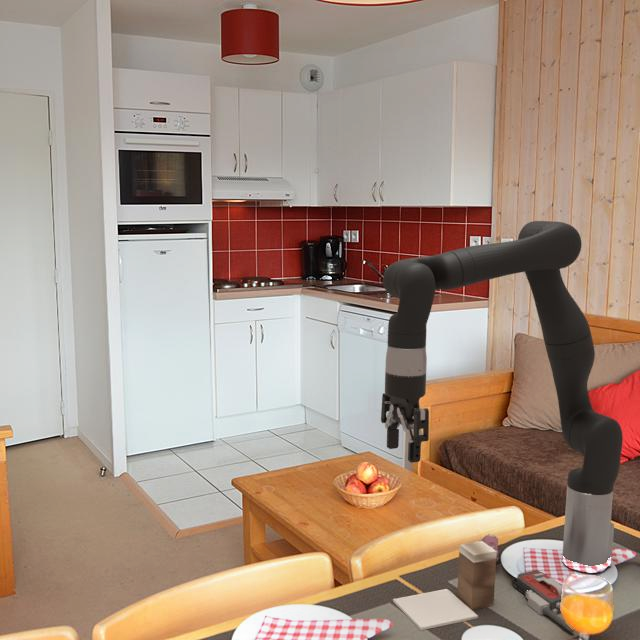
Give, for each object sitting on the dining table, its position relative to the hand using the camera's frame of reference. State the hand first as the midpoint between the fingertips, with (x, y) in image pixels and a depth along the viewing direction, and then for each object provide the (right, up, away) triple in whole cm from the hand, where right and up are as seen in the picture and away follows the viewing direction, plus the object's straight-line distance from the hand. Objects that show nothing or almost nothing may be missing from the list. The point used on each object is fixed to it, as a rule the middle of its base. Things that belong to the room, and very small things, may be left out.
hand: (402, 454), depth 148 cm
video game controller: (+19, -27, +21) cm, 40 cm away
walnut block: (+14, -29, +5) cm, 33 cm away
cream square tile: (+6, -30, +1) cm, 30 cm away
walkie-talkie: (+29, -30, +4) cm, 42 cm away
